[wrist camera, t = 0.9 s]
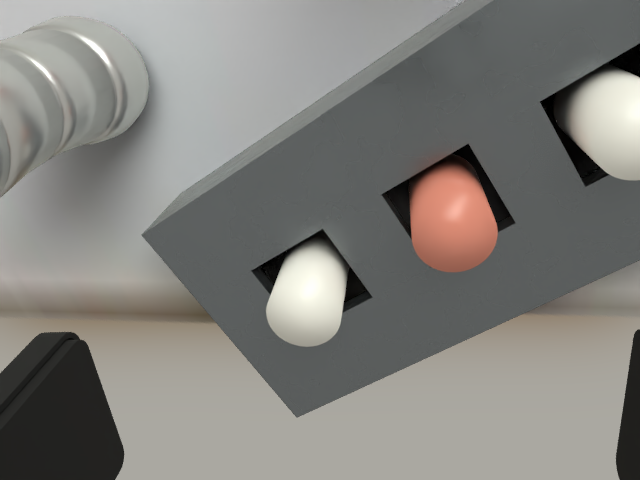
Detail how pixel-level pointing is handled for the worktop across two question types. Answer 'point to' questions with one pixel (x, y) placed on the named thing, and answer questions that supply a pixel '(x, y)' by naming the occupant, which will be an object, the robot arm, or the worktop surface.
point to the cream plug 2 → (604, 119)
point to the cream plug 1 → (309, 292)
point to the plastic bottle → (65, 91)
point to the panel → (399, 165)
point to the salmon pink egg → (451, 216)
